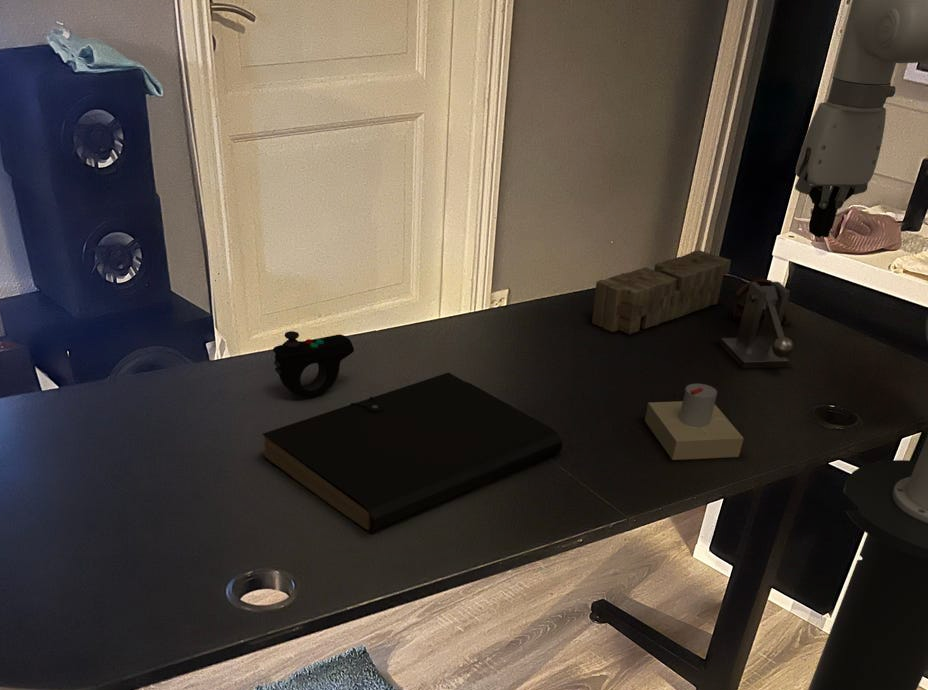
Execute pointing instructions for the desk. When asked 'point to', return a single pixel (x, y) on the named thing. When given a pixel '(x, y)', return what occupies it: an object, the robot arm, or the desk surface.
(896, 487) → the robot arm
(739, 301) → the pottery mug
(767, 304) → the tap lever
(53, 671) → the desk surface
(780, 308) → the bracket
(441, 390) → the black hardcover book
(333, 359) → the controller
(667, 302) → the block tower
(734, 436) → the beige rectangular block
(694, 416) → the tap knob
